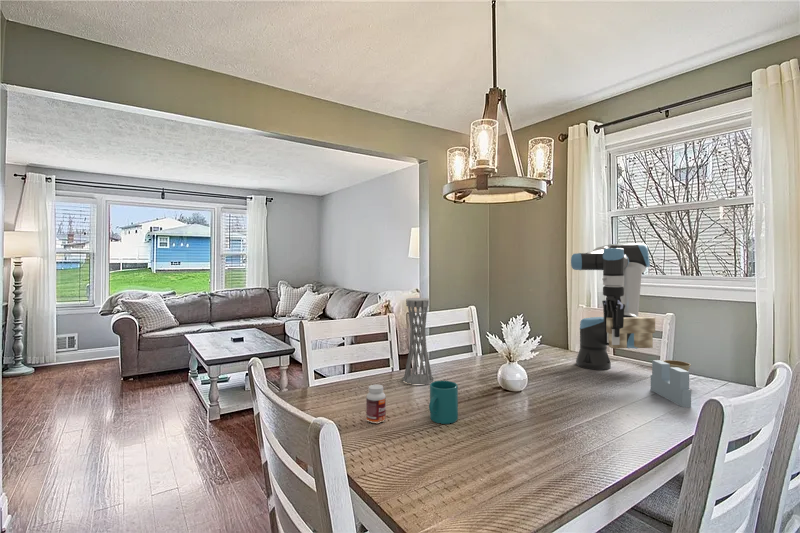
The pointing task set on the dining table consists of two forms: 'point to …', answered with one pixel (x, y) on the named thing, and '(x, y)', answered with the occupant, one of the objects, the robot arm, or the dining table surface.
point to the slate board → (671, 383)
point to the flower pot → (678, 364)
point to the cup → (443, 402)
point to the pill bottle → (376, 404)
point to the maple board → (634, 331)
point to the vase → (418, 343)
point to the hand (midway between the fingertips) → (613, 343)
